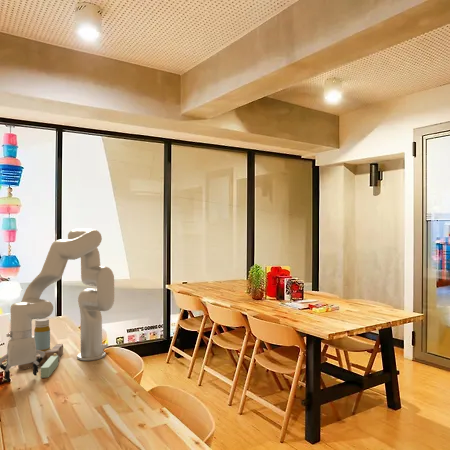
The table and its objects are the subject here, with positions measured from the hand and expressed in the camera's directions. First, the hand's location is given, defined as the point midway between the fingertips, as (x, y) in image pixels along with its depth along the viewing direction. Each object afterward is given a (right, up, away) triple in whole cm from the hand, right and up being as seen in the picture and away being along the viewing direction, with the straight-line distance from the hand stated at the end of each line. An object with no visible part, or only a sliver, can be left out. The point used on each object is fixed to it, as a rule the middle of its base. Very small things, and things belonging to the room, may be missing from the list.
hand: (21, 377), depth 162 cm
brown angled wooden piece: (0, -1, +23) cm, 23 cm away
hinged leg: (+7, -1, +11) cm, 13 cm away
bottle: (-9, -2, +40) cm, 41 cm away
